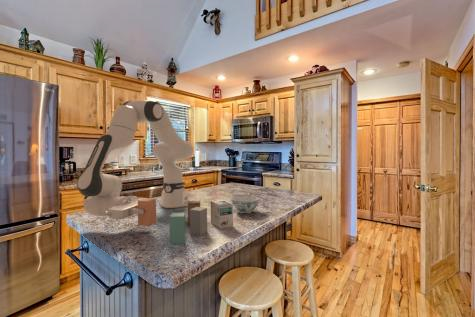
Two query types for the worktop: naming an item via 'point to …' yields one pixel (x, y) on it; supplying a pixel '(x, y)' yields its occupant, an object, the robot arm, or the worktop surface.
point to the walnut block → (192, 205)
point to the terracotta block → (147, 211)
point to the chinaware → (245, 203)
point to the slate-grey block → (198, 220)
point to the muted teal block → (177, 228)
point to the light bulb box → (222, 213)
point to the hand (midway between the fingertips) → (149, 209)
